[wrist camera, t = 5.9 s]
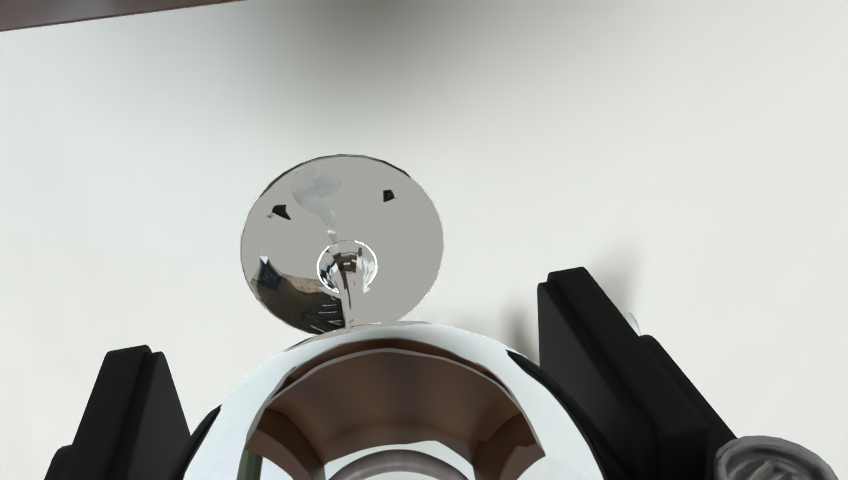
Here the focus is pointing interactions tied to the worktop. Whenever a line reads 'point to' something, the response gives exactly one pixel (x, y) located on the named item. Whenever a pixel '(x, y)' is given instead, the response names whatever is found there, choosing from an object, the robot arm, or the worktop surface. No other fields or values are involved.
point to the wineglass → (378, 354)
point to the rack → (82, 10)
